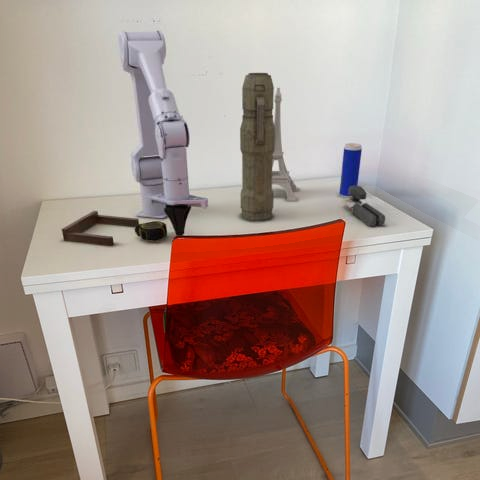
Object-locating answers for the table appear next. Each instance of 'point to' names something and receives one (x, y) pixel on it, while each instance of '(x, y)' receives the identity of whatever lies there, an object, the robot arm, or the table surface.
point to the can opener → (363, 207)
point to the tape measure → (151, 230)
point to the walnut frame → (84, 223)
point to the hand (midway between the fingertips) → (180, 234)
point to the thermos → (257, 147)
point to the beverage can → (350, 168)
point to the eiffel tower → (281, 156)
